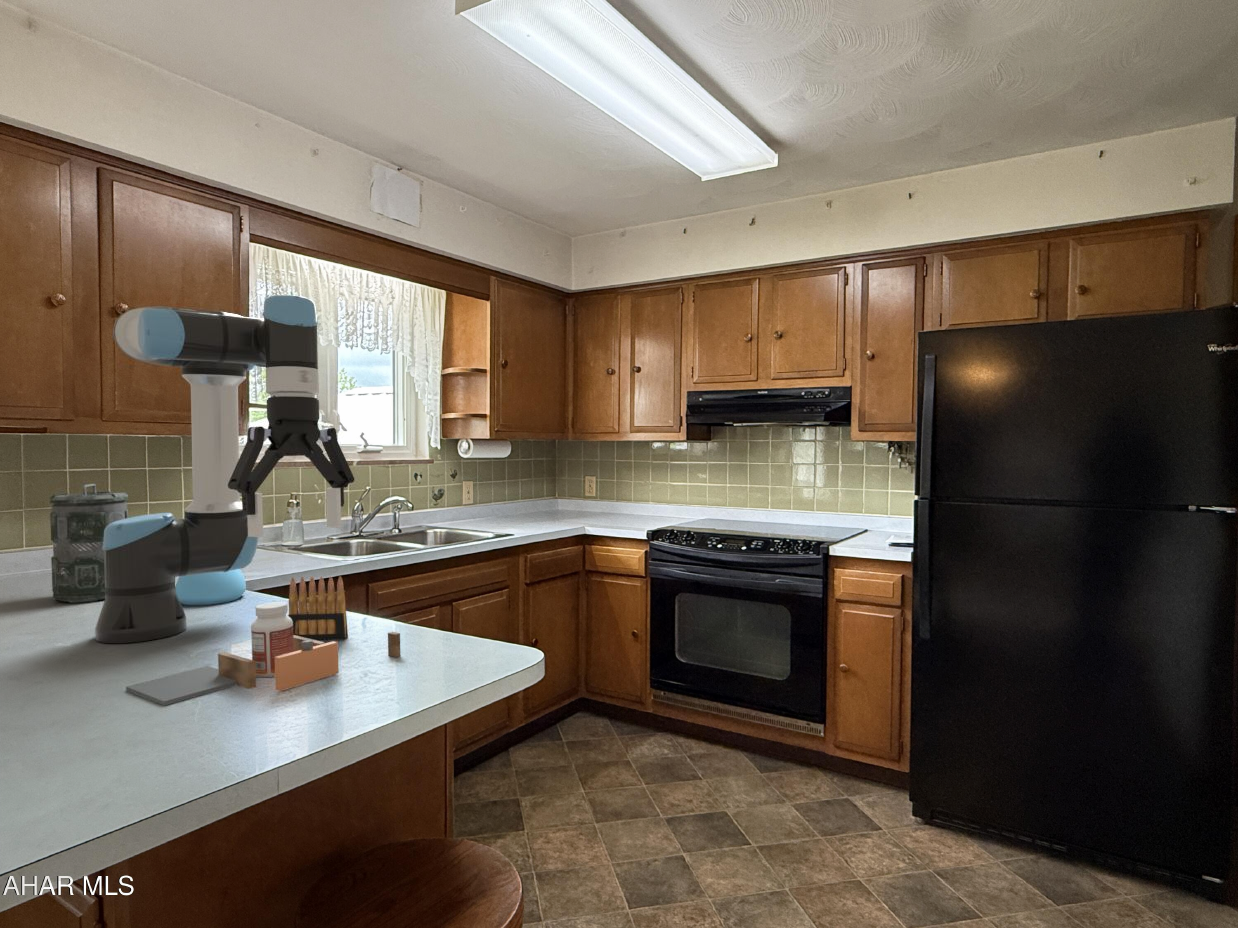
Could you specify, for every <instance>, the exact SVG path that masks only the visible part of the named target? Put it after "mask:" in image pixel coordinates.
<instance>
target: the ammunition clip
mask: <svg viewBox="0 0 1238 928" xmlns="http://www.w3.org/2000/svg"><path fill="white" fill-rule="evenodd" d="M343 581H344V580H343V578H342V576H341V575H340V576H338V580H337V583H336V590H335V583H334V579H333V577H332V576H329V578H328V582H327V596H326V586H325V581H324V578H323V577H322V576H320V578H319V581H318V586H317V587H318V589H317V587H316V582H315V579H314V577H313V576H310V579H309V583H308V597H307V585H306V584H307V583H306V582H305V579H304V577H303V576H302V577H301V578H300V582H299V586H298V591H297V584H296V580H295V578H294V577H293V576H292V577H291V580H290V582H289V583H290V584H289V594H288V595H289V597H288V615H287V616H288V617H290V618H291V619H292V621H293V635H296V636H300V637H304V638H308V639H313V640H317V641H321V642H324V641H325V642H326V641H344V640H346V639H347V638H348V637H349V634H348V632H349V631H348V620H347V617H348V616H347V611H346V597H345V589H344V582H343ZM316 590H317V591H318V592H317V591H316ZM335 591H336V592H335Z"/></svg>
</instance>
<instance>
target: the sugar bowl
mask: <svg viewBox="0 0 1238 928" xmlns="http://www.w3.org/2000/svg"><path fill="white" fill-rule="evenodd" d="M175 590H176V594H177V596H178V599H179V601H180V603H181V605H185V606H208V605H218V604H223V603H229V602H232V601H236V600H239V599H240V598H241V597H242V596H243V595H244V593H245V592H246V590H247V583H246V578H245V577H244V575H243V572H242V570H241V569H236V570H230V571H228V572H223V571H221V572H212V573H203V574H195V575H187V576H178V578H177V581H176V582H175Z"/></svg>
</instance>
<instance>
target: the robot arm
mask: <svg viewBox="0 0 1238 928" xmlns="http://www.w3.org/2000/svg"><path fill="white" fill-rule="evenodd" d="M262 316H263V318H261V317H259V318H258V317H248V316H241V315H239V314H237V313H236V314H235V313H229V312H224V311H215V310H214V311H213V310H204V309H203V310H202V309H201V310H200V309H189V308H179V307H171V306H161V305H160V306H159V305H158V306H146V307H145V306H144V307H137V308H132V309H129V310H127V311H125V312H124V313H122V314H120V315H119V317H117V318H116V320H115V322H114V324H113V330H112V333H113V339H114V341H115V344H116V345H117V347H118V348H119V349H120V350H121V351H122V352H123V353H124V354H126V355H127V356H129V357H131V358H133V359H135V360H138V361H140V362H141V361H142V362H145V363H148V364H153V365H156V366H157V365H158V366H166V367H178V368H181V377H182V378H183V379H184V380H186V381H187V383H189V385H190V406H191V407H190V408H191V410H190V412H191V414H190V416H191V417H190V418H191V457H192V458H191V459H192V460H191V467H192V468H191V469H192V501H191V503H189V504H188V506H186V507H185V508H184V518H178V519H177V518H175V516H174V514H173V513H171V512H160V513H159V512H158V513H151V514H144V515H143V514H142V515H137V516H132V517H129V518H127V519H122V520H118V521H115V522H112V523H110V524H109V525H108V526H107V527H106V528H105V530H104V542H103V547H102V549H103V550H104V567H105V599H104V602H103V604H102V607H101V610H100V613H99V616H98V619H97V622H96V624H95V625H96V626H95V628H94V629H95V630H94V632H95V633H94V634H95V635H94V636H95V641H97V642H99V643H102V644H104V643H105V644H127V643H128V644H129V643H138V642H146V641H151V640H152V641H153V640H156V639H157V640H158V639H163V638H167V637H170V636H174V635H176V634H180V633H181V632H184V631H186V630H187V628H188V626H187V624H188V623H187V615H186V614H185V610H184V608H183V606H182V603H181V602H180V601H179V599H178V596H177V594H176V590H175V587H176V577H178V578H179V576H187V575H195V574H203V573H212V572H221V571H223V572H228V571H230V570H236V569H240V570H241V569H244V568H246V567H248V566H249V565H250V564H251V563H252V562H253V559H254V557H255V554H256V553H257V548H258V542H259V538H264V516H263V515H264V513H263V492H257V491H258V489H260V487H261V485H262V484H263V483H264V481H266V479H267V478H268V476H269V475H270V474H271V472H272V470H273V469H274V468H275V467H276V466H277V464H278V462H279V461H281V459H283V458H284V457H301V456H304V457H306V458H307V459H309V460H310V462H311V463H312V465H313V467H315V468H316V469H317V471H318V472H319V474H321V476H322V477H323V478H324V479H325V481H326V482H327V483H328V485H329V486H330V487H326V488H325V497H326V499H325V500H326V501H325V502H326V505H325V506H326V527H327V528H335V529H340V528H342V507H344V505H345V488H347V487H349V484H352V483H354V482H355V477H354V473H353V472H352V470H351V467H350V466H349V463H348V461H347V459H346V457H345V455H344V453H343V451H342V447H341V446H340V444H339V442H338V441H339V440H338V434H337V429H336V428H335V427H323V428H321V429H320V428H319V425H318V423H319V420H320V400H319V399H318V398H317V397H315V396H317V395H318V394H319V363H318V357H319V355H318V325H319V321H318V320H317V319H318V317H317V308H316V303H315V302H314V301H313V300H312V299H311V298H308V297H304V296H301V295H300V296H299V295H292V294H275V295H270V296H269V295H268V297H266V298H265V299H264V301H263V312H262ZM255 367H259V368H265V393H266V394H267V395H270V397H267V399H266V419H267V421H268V427H267V428H264V427H263V426H251V427H248V429H247V437H246V438H247V439H246V443H245V445H244V447H243V450H242V451H241V454H240V443H239V442H240V439H239V435H240V433H239V432H240V431H239V386H240V384H242V383H243V382H244V381H245V380H246V379H247V372H250V371H252V370H253V369H254V368H255ZM267 439H268V440H269V442H270V445H269V446H268V447H267V448H266V449H265V451H264V455H263V456H262V458H261V459H260V460H259V461H258V463H257V464H256V462H257V459H258V458H259V455H260V453H261V451H262V449H263V447H264V442H266V441H267ZM318 440H319V441H320V442H321V443H322V446H323V449H322V447H321V446H320V445H319V444H318ZM324 452H325V453H326V455H327V456H326V455H325V453H324ZM327 457H328V458H327ZM240 494H241V495H240ZM240 496H241V497H240ZM240 498H241V499H240Z"/></svg>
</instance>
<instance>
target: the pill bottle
mask: <svg viewBox="0 0 1238 928" xmlns="http://www.w3.org/2000/svg"><path fill="white" fill-rule="evenodd" d="M288 612H289V605H288V603H287V602H284V601H274V602H273V601H272V602H265V603H260V604H258V605H256V606H255V616H256V617H257V618H256V619H254V620H253V621H252V623H251V626H250V629H251V630H250V631H251V632H250V633H251V634H250V635H251V656H252V657H251V660H254V661H255V667H256V678H257V677H258V678H262V679H263V678H266V679H267V678H275V657H276V656H280V655H283V654H287V653H291V652H294V639H293V621H292V619H291V618H290V617H288V615H287V613H288Z"/></svg>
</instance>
